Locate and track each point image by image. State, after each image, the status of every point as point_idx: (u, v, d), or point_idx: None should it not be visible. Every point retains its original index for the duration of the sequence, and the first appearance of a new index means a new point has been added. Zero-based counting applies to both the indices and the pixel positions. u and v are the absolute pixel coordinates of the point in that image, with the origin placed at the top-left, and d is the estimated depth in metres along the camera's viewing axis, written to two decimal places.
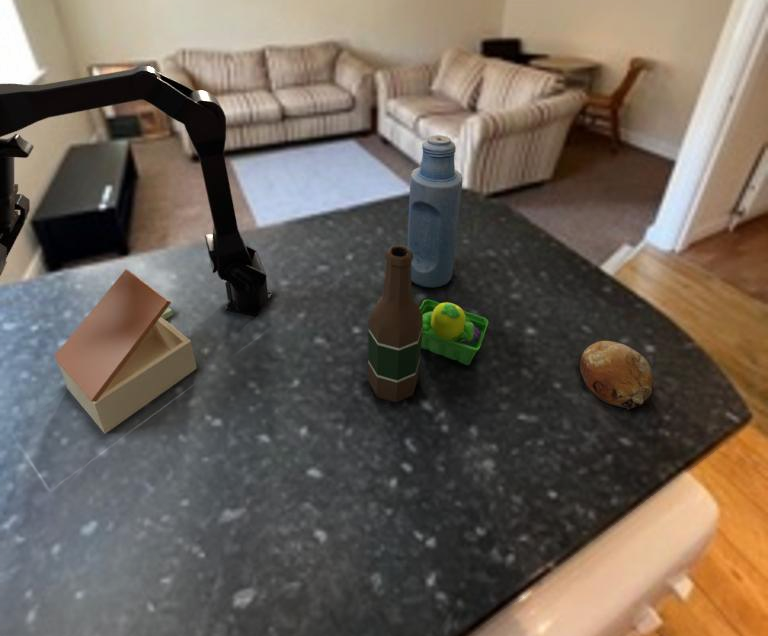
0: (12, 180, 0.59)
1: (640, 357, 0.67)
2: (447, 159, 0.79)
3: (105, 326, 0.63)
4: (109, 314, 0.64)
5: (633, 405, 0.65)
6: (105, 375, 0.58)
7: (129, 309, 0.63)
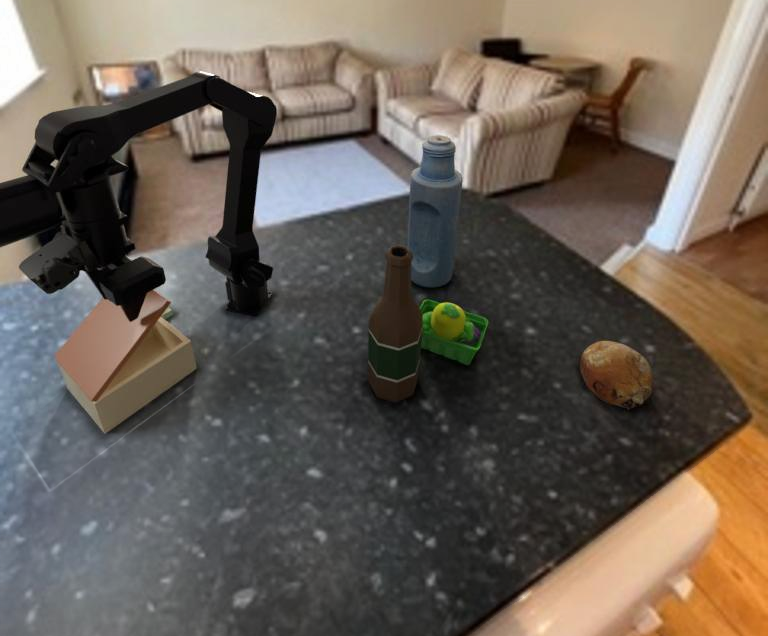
0: None
1: (640, 357, 0.67)
2: (447, 159, 0.79)
3: (105, 326, 0.63)
4: (109, 314, 0.64)
5: (633, 405, 0.65)
6: (105, 375, 0.58)
7: None
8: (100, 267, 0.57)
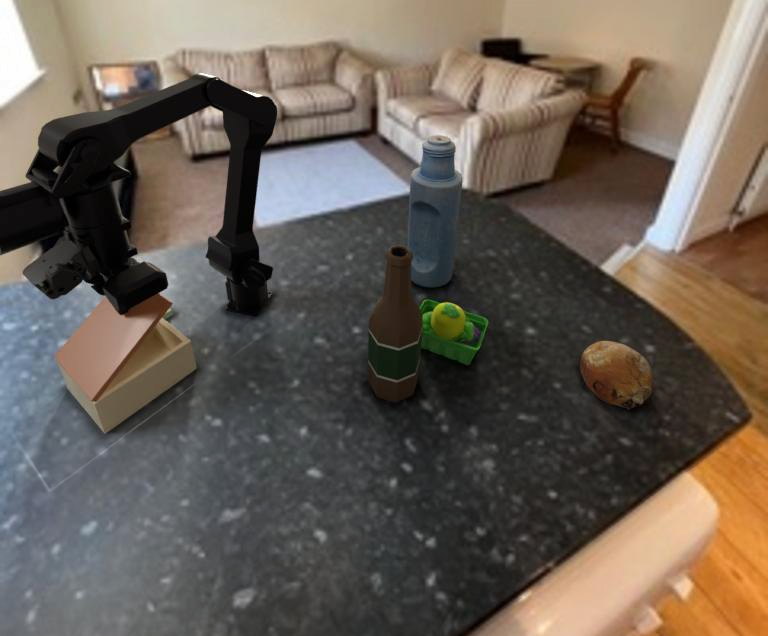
0: None
1: (640, 357, 0.67)
2: (447, 159, 0.79)
3: (106, 326, 0.63)
4: (110, 314, 0.64)
5: (633, 405, 0.65)
6: (105, 375, 0.58)
7: (130, 310, 0.63)
8: None
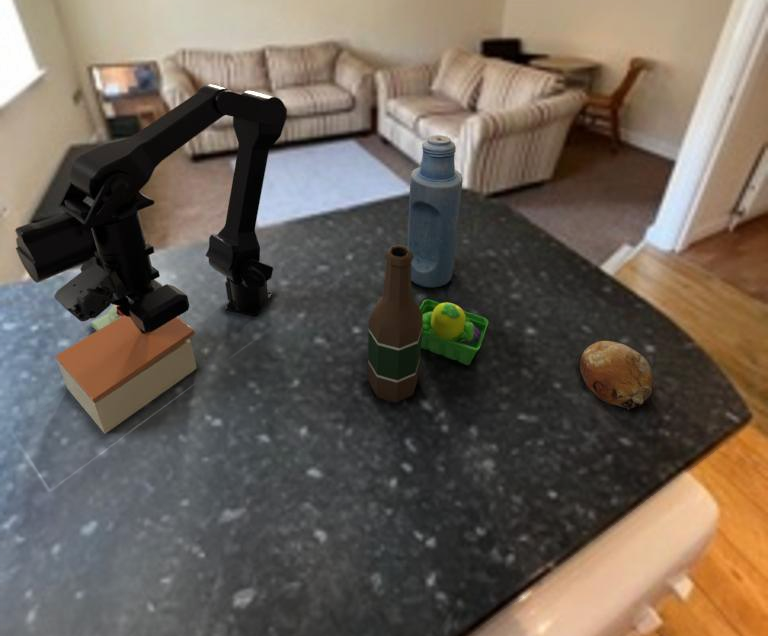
0: None
1: (640, 357, 0.67)
2: (447, 159, 0.79)
3: (122, 339, 0.65)
4: (128, 330, 0.67)
5: (633, 405, 0.65)
6: (114, 379, 0.59)
7: None
8: None
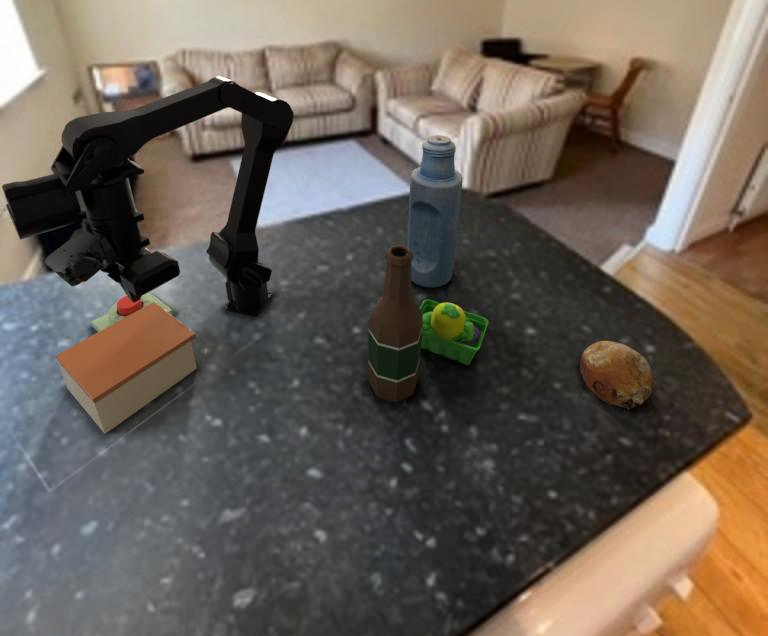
0: (133, 199, 0.62)
1: (640, 357, 0.67)
2: (447, 159, 0.79)
3: (123, 341, 0.66)
4: (129, 332, 0.67)
5: (633, 405, 0.65)
6: (114, 380, 0.60)
7: (152, 332, 0.67)
8: None
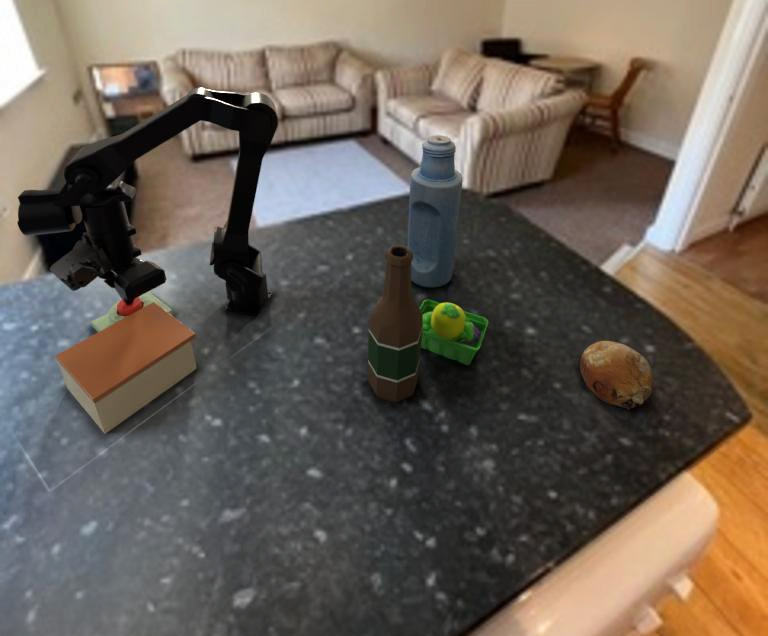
0: (125, 219, 0.70)
1: (640, 357, 0.67)
2: (447, 159, 0.79)
3: (123, 341, 0.66)
4: (129, 332, 0.67)
5: (633, 405, 0.65)
6: (114, 380, 0.60)
7: (152, 332, 0.67)
8: None
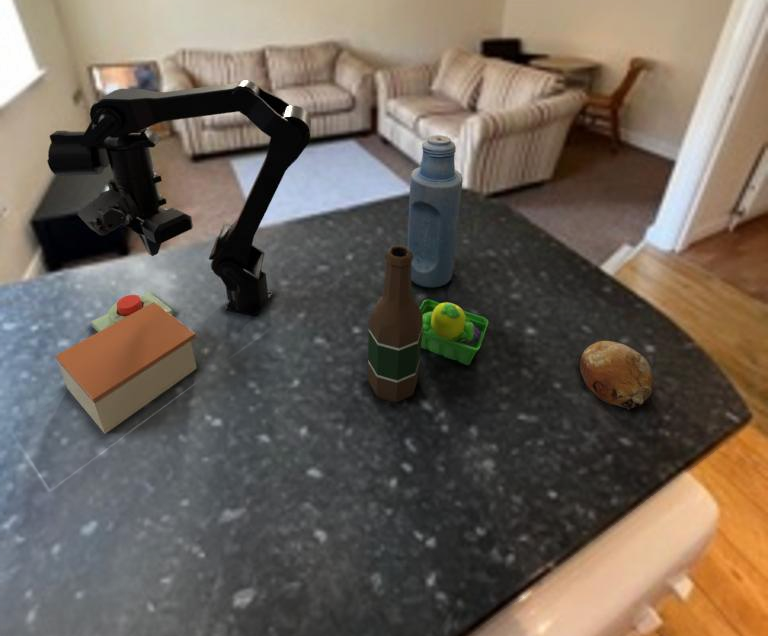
0: (150, 167, 0.70)
1: (640, 357, 0.67)
2: (447, 159, 0.79)
3: (123, 341, 0.66)
4: (129, 332, 0.67)
5: (633, 405, 0.65)
6: (114, 380, 0.60)
7: (152, 332, 0.67)
8: None
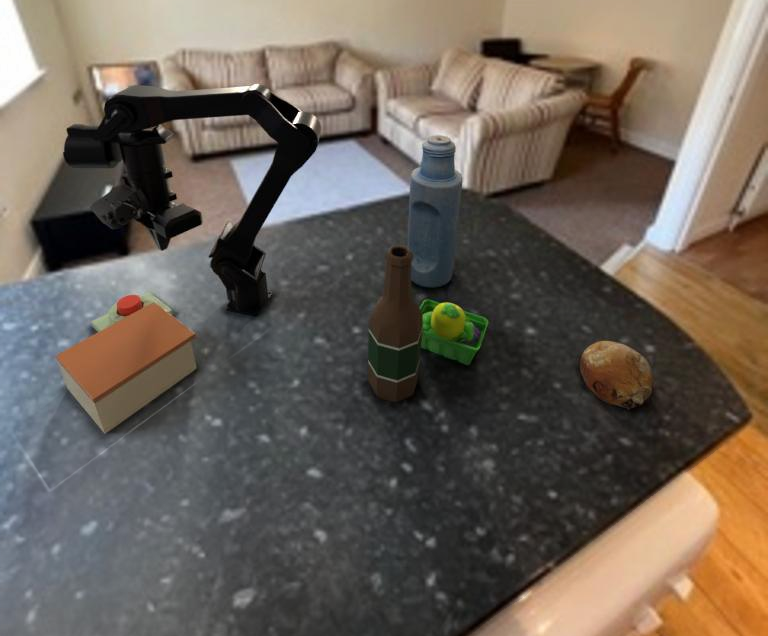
0: (161, 163, 0.71)
1: (640, 357, 0.67)
2: (447, 159, 0.79)
3: (123, 341, 0.66)
4: (129, 332, 0.67)
5: (633, 405, 0.65)
6: (114, 380, 0.60)
7: (152, 332, 0.67)
8: None
